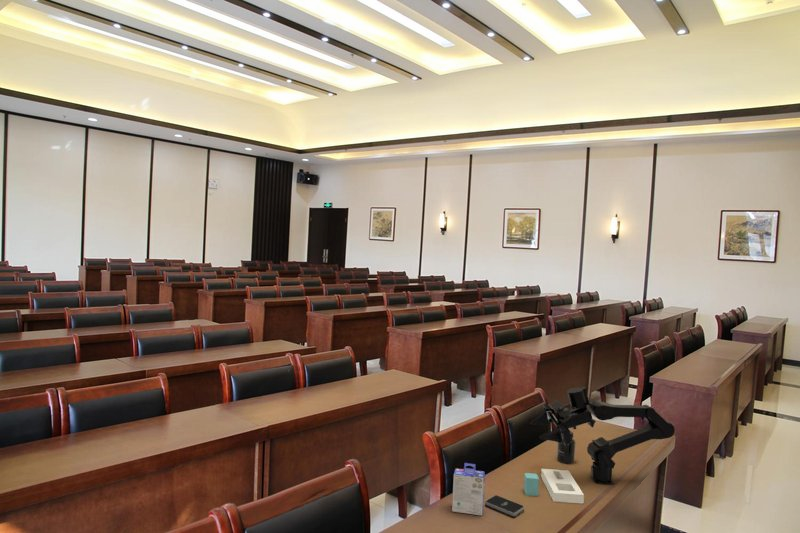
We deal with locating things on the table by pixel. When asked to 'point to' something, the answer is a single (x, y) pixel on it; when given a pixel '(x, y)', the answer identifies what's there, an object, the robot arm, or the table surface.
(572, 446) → the supplement bottle
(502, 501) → the external hard drive
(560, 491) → the socket plate
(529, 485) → the square peg
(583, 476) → the table surface
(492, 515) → the table surface
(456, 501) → the ink cartridge box
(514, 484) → the table surface
